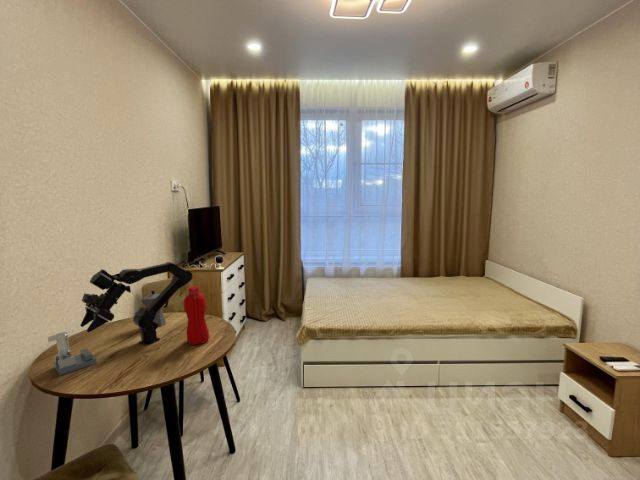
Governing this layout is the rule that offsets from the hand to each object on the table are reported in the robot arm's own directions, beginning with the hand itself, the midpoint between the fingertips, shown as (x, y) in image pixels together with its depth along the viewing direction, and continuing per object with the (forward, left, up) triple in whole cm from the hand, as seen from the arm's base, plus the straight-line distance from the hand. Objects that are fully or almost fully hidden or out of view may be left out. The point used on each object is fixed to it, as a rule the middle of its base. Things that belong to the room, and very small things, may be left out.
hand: (84, 329), depth 139 cm
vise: (+1, +4, -14) cm, 14 cm away
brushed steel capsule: (+3, +8, -12) cm, 14 cm away
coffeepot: (+8, -40, -14) cm, 43 cm away
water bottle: (-29, -31, -14) cm, 44 cm away
